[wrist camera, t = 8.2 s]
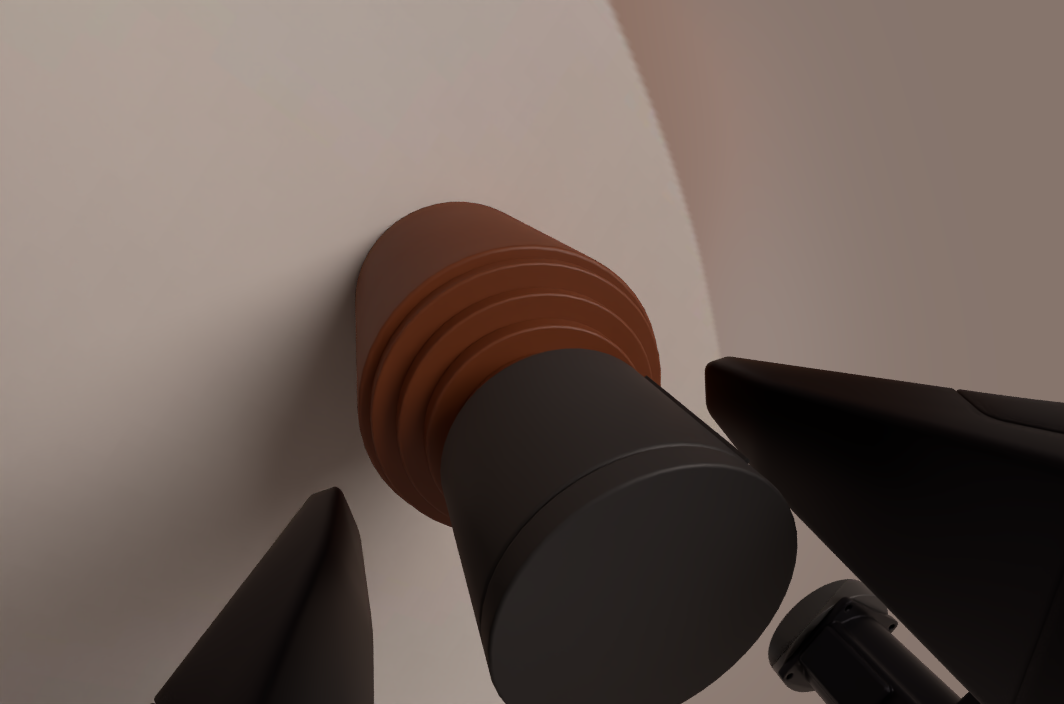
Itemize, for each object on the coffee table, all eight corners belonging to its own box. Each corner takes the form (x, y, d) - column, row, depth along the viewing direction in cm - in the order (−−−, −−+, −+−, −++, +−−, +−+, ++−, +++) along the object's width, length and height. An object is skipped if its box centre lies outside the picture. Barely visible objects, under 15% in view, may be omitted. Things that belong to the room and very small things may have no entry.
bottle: (587, 270, 18) (916, 460, 7) (487, 420, 19) (653, 772, 8) (424, 157, 15) (591, 208, 5) (315, 340, 16) (249, 729, 6)
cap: (571, 293, 8) (702, 388, 5) (697, 433, 10) (846, 562, 7) (387, 477, 8) (407, 672, 5) (545, 579, 10) (627, 766, 7)
